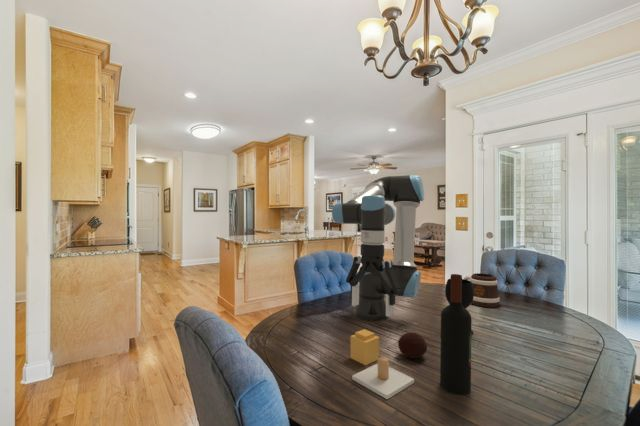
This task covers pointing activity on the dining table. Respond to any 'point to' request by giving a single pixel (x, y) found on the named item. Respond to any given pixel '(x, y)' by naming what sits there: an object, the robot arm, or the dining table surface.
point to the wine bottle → (455, 343)
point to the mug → (484, 290)
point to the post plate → (383, 385)
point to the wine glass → (466, 293)
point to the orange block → (364, 347)
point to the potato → (412, 345)
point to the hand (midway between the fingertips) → (371, 310)
